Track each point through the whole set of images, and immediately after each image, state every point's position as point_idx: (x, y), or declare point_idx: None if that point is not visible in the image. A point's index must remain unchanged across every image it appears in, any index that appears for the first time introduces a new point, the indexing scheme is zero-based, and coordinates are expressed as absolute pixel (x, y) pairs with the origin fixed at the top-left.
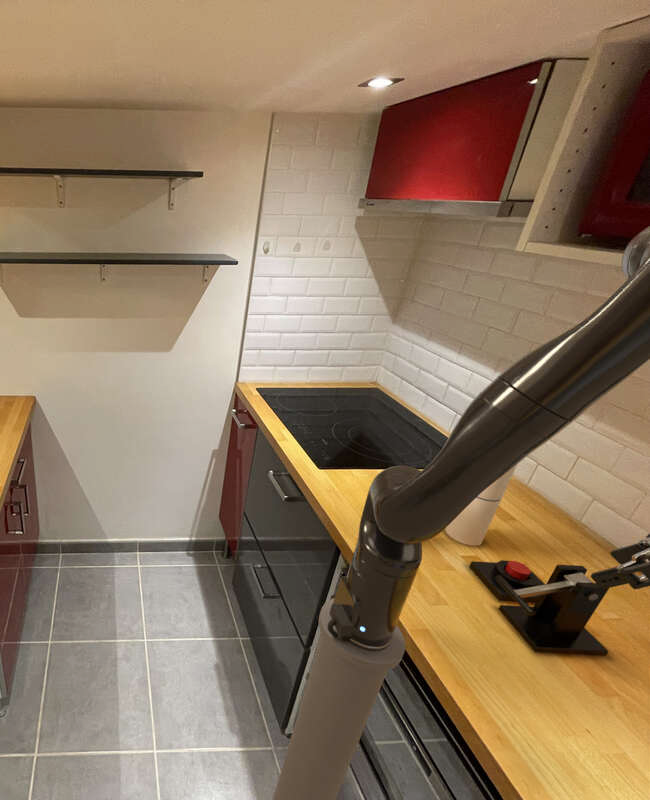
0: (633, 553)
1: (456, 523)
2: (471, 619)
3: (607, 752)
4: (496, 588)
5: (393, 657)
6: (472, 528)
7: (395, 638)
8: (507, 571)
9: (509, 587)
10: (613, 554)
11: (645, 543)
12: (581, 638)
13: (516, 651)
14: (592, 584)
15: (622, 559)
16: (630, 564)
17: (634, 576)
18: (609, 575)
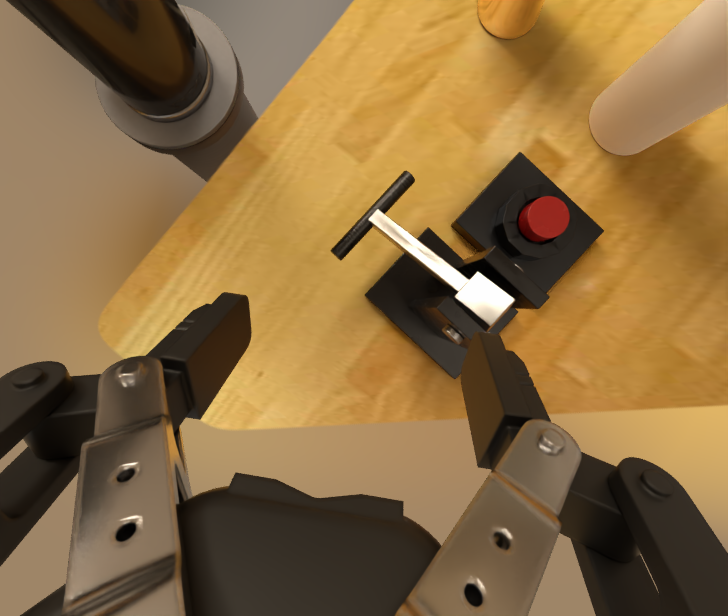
0: (482, 406)
1: (625, 74)
2: (357, 203)
3: (242, 396)
4: (467, 209)
5: (149, 137)
6: (629, 104)
7: (191, 124)
8: (526, 206)
9: (382, 200)
10: (475, 341)
11: (499, 465)
12: (451, 343)
13: (340, 274)
14: (470, 326)
15: (467, 372)
16: (100, 413)
17: (28, 436)
18: (164, 341)
